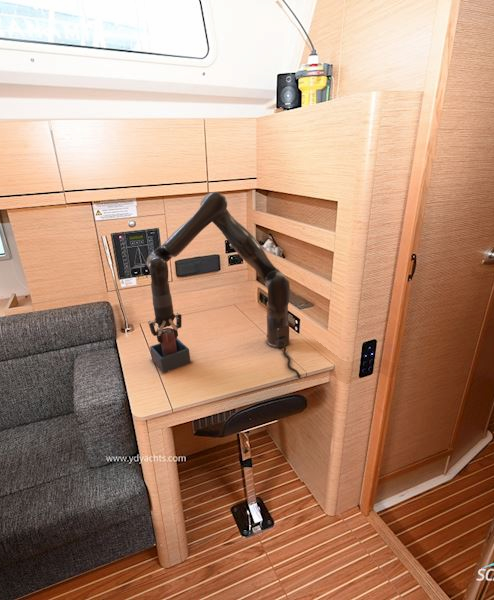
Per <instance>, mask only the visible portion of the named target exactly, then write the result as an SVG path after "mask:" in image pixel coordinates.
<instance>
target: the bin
mask: <svg viewBox="0 0 494 600" xmlns="http://www.w3.org/2000/svg"><path fill="white" fill-rule="evenodd" d="M175 340H176V347H177V352H176V353H173V354H171V355H168V356H165V357H163V352H162V346H161V343H159V342H158V343H156V344H153V345H150V346H149V350H150V355H151V361H152V362H153V363H154V364H155V366H156V367H157V368H158V369H159V370H160V371H161V373H162V374H165V373H168V372H170V371H173V370H175V369H178V368H181V367H183V366H186V365H188V364H191V353H190V348H189V347H188V346H186V345H185V344H184V343H183V342H182V341H181V340H180V339H179V338H178V337H177V338H176V339H175Z"/></svg>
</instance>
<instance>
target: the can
mask: <svg viewBox="0 0 494 600" xmlns="http://www.w3.org/2000/svg"><path fill="white" fill-rule="evenodd" d="M161 337H162V343H161V346H162V352H163V357H165V356H168V355H171V354H173V353H176V352H177V347H176V340H175V333H174V330H173V327H165V328H163V331H162V332H161Z"/></svg>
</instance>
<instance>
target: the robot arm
mask: <svg viewBox="0 0 494 600" xmlns="http://www.w3.org/2000/svg"><path fill="white" fill-rule="evenodd" d="M211 223H213V224H214V225H215V226H216V228H218V230H219V231H220V233H222V234H223V236H224V237H225V239H226V240H227V241H228V243H229V244H230V246H231V247H232V248H233V249H234V251H235V252H236V253H237V254H238V255H239V257H240V258H241V259H242V260H243V261H244V262H245V263H246V264H248V265H249V266H250V267H251V268H253V269H254V270H255V272H256V273H257V274H258V275H259V277H260V278H261V280H262V281H263V283H264V285H265V288H266V289H267V302H266V342H267V345H268V346H270V347H273V348H276V349H281V348H283V351H282V354H283V355H284V357H285V358H287V364H286V365H287V368H288V369H289V370H290V371H292V372H294V373H295V374H296V376H297V378H298V379H301V375H300V373H299V371H298V370H297V369H295V368H293V367H291V357H290V356H289V355H287V353H286V350H287V346H288V345H290V324H289V316H288V315H289V304H290V294H291V293H290V291H291V288H290V287H291V286H290V280H289V278H288V277H287V276H286V275H285V274H284V273H283V272H282V271H281V270H280V269H279V268H277V267H276V266H275V264H274V263H272V261H271V260H270V258H269V257H268V255H267V254H266V252H265V250H264V249H263V247H262V245H261V244H260V243H259V242H258V240H257V239H256V238H255V236H254V235H253V234H252V233H251V232H250V231H249V230H248V229H247V228H246V227H245V226H244V225H242V224H241V223H240V222H239V221H237V220H236V219H235V218H234V217H233V216H232V214H231V213H230V212H229V210H228V199H227V198H226V196H225V195H224V194H223V193H221V192H217V191H213V192H209V193H207V194H205V195H203V197H202V198H201V200H200V207H199V208H198V209H197V211H196V212H195V213H194V214H193V215H192V216H191V217H190V218H189V219H188V220H187V221H186V222H184V223H183V224H182V225H180V226H179V228H177V230H175V231H174V232H173V233H172V234H171V235H170V236H169V237H168V238H167V239H166V241H164V243H163V244H161V245H159V246H158V247H157V248H156V249H154V250H153V251H152V252H151V253H150V254H149V255H148V256H147V258H146V267H147V268H148V270H149V273H150V280H151V281H150V288H151V289H150V290H151V295H152V296H151V297H152V306H153V311H154V320H152V321H151V320H149V321H148V322H147V324H148V327H149V330H150V333H151V335H152V336H154V337H156V340H157V342H158V344H159V343H162V337H161V332H162V331H163V329H165V328H168V327H171V328H172V329H173V330H174V333H175V339H176V338H177V339H178V338H179V332H178V330H179V329H181V328H182V314H181V313H179V312H177V313H174V305H173V299H172V294H171V289H170V283H169V266H168V262H169V261H170V260H172V259H173V258H177V257H178V256H179V255H181V253H182V252H183V251H184V250H185V249H186V248H187V247H188V246H189V245H190V244H191V242H192V241H194V239H195V238H196V237H198V235H200V233H201V232H202V231H203V230H204V229H205V228H206V227H208V226H209V225H210V224H211ZM175 319H176V322H174V320H175ZM175 323H176V324H175ZM156 324H157V325H156ZM155 327H156V328H155Z"/></svg>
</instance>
